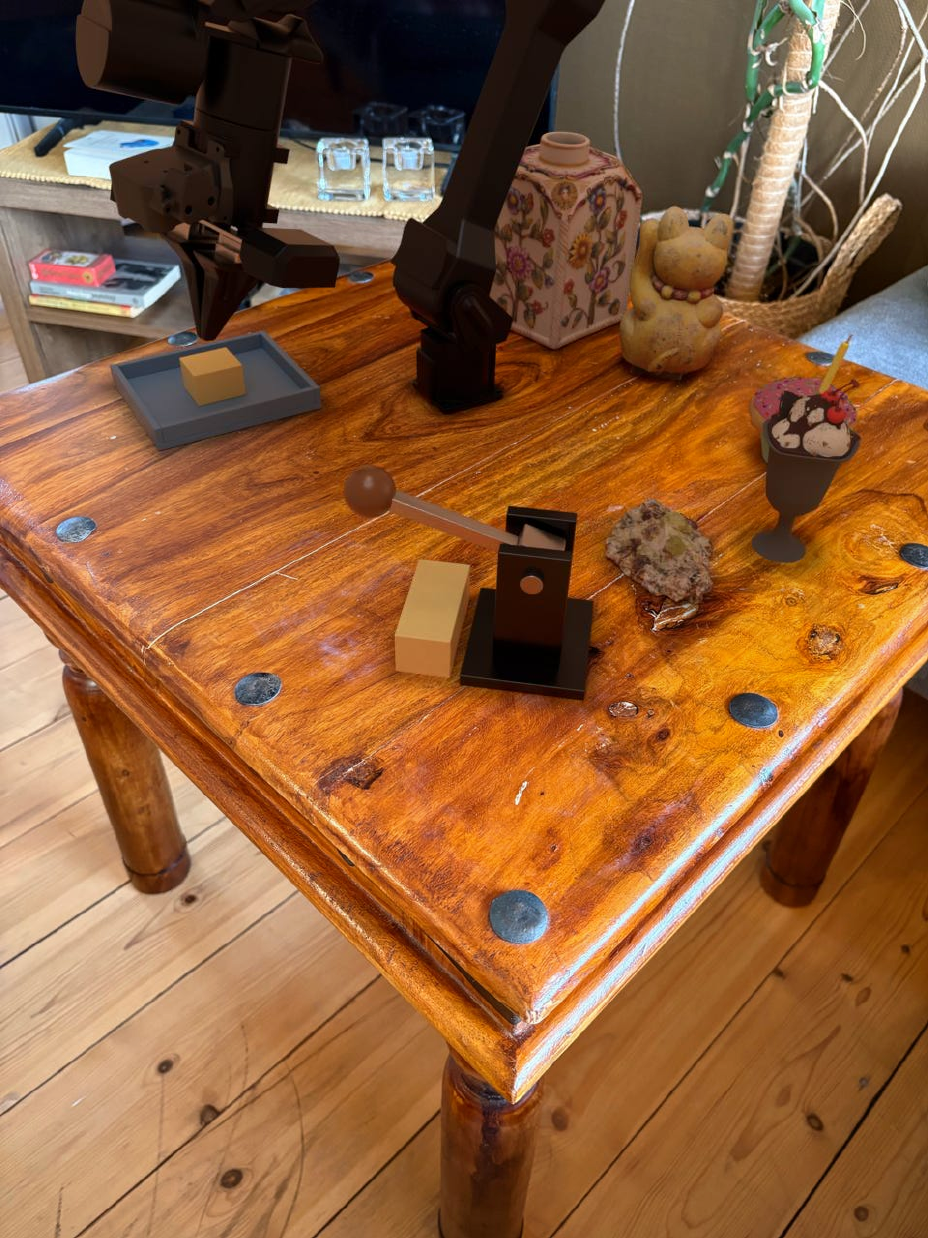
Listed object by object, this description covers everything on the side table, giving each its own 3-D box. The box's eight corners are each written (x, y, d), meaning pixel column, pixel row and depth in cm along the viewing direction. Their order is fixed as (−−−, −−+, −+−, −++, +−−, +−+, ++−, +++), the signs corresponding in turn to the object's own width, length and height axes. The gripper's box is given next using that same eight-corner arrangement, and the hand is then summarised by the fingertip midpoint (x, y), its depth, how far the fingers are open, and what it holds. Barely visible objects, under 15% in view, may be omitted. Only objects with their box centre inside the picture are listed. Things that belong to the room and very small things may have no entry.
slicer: (459, 688, 64) (462, 569, 57) (479, 599, 71) (484, 484, 64) (583, 704, 63) (600, 585, 57) (592, 613, 70) (608, 497, 63)
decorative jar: (473, 314, 106) (478, 133, 94) (549, 286, 112) (562, 112, 100) (555, 353, 99) (571, 165, 87) (630, 321, 105) (655, 140, 94)
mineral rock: (584, 505, 75) (682, 469, 75) (592, 546, 79) (687, 512, 79) (635, 598, 68) (745, 558, 68) (642, 639, 71) (747, 601, 71)
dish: (266, 349, 99) (263, 329, 97) (321, 408, 90) (320, 387, 89) (114, 385, 93) (109, 364, 91) (158, 451, 84) (154, 429, 83)
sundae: (826, 582, 73) (888, 399, 63) (733, 569, 74) (779, 387, 64) (820, 530, 78) (877, 353, 68) (733, 519, 79) (776, 342, 69)
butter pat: (230, 376, 93) (226, 346, 91) (246, 394, 91) (242, 364, 89) (184, 387, 92) (178, 357, 90) (199, 406, 89) (193, 376, 87)
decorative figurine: (713, 355, 100) (744, 202, 90) (714, 395, 94) (748, 236, 84) (617, 346, 101) (637, 194, 91) (612, 385, 95) (633, 226, 85)
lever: (332, 516, 60) (345, 476, 58) (345, 487, 62) (358, 447, 60) (545, 597, 62) (565, 560, 59) (550, 565, 64) (569, 529, 62)
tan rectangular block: (419, 597, 71) (418, 558, 68) (469, 603, 70) (470, 564, 68) (395, 674, 65) (394, 635, 62) (450, 681, 64) (450, 642, 62)
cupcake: (847, 448, 87) (888, 318, 79) (831, 497, 81) (874, 362, 73) (750, 425, 90) (780, 297, 82) (727, 471, 84) (758, 338, 76)
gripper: (51, 63, 65) (38, 296, 73) (237, 148, 58) (200, 399, 65) (187, 87, 74) (162, 293, 82) (366, 164, 66) (319, 385, 74)
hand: (206, 339), depth 75 cm, fingers closed
